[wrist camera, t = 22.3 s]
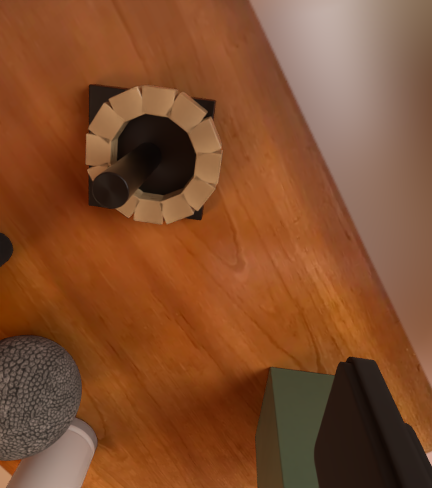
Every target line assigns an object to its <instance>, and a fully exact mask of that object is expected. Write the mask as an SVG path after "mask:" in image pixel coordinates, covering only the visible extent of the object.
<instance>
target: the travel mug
mask: <svg viewBox="0 0 432 488" xmlns="http://www.w3.org/2000/svg"><path fill="white" fill-rule="evenodd" d="M96 447H97V437H96V434H95V432H94V431H93V429H92V428H91V427H90V426H89V425H88V424H87V423H85V422H84V421H82V420H80V419H78V418H74V420H73V422H72V423H71V425H70V426H69V428H68V429H67V431H66V432H65V433H64V434H63V435H62V436H61V437H60V438H59V439H58V440H57V441H56V442H55V443H54V444H53V445H51V446H50V447H48V448H47V449H45V450H43V451H42V452H40V453H38V454H35V455H33V456H30V457H27V458H24V459H22V460H21V462H20V464H19V465H18V467H17V469H16V471H15V473H14V474H13V476H12V478H11V480H10V481H9V483H8V485H7V487H6V488H81V487H82V484H83V481H84V479H85V476H86V474H87V471H88V468H89V466H90V463H91V460H92V458H93V455H94V453H95V450H96Z"/></svg>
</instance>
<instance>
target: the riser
mask: <svg viewBox="0 0 432 488" xmlns="http://www.w3.org/2000/svg"><path fill="white" fill-rule="evenodd" d="M334 377H335V376H334V375H327V374H319V373H312V372H304V371H297V370H289V369H282V368H274V367H270V370H269V375H268V380H267V384H266V389H265V394H264V398H263V403H262V408H261V412H260V417H259V422H258V426H257V431H256V436H255V443H256V464H257V486H258V488H319V484H318V479H317V473H316V468H315V462H314V447H315V442H316V439H317V435H318V432H319V429H320V425H321V422H322V418H323V415H324V411H325V408H326V404H327V401H328V398H329V394H330V391H331V387H332V384H333V380H334Z"/></svg>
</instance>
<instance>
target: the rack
mask: <svg viewBox="0 0 432 488" xmlns="http://www.w3.org/2000/svg"><path fill="white" fill-rule="evenodd" d="M127 90H129V89H127V88H120V87H112V86H105V85H97V84H90V85H89V126H90V124H91V122H92V121H93V119H94V118H95V116H96V114H97V113H98V111H99V110H100V108H101V107H102V105H103V103H106V102H109V98H111V97H114V96H116V95H118V94H120V93H122V92H125V91H127ZM191 98H192V99H193V100H194V101H196V102H197V103H198V104H199V105H200V106H202V107H203V108H204V109H205V110H207V111H208V113H207V114H206V115H205V117H204V118H203V119H205V118H207V117H210V116H211V117H212V119H213V121H214V113H215V104H216V100H210V99H202V98H195V97H191ZM203 119H202V120H203ZM90 132H91V131H90V130H89V133H90ZM195 161H196V152H195V150H194V148H193V145H192V143H191V140H190V138H189V136H188V133H187V132H186V131H185V130H183V129H182V128H181V127H180V126H178V125H177V124H176V123H175V122H173V121H172V120H171V119H170V118H168V117H162V116H156V115H149V114H144V115H141V116H139V117H137V118H134V119H132V120H130V121H129V122H128V124H127V125H126V127H125V128H124V130H123V131H122V133H121V134H120V136H119V137H118V146H117V162H116V163H114V164H113V165H112V166H110V167H109V168H107V169H106V170H105V171H103V172H102V173H100V174H99V175H98V176H97V177H96V178H95V179H94V181H92V179H91V177H90V175H89V205H90V206H98V207H105V208H109V209H116V208H119V207H121V206H123V205H124V204H125V203H126V202H127V201H128V200H129V198H130V197H131V196H132V195H133V194H134V193H135V192H136V190H137V189H140V190H141V191H142V192H145V193H151V194H158V195H166V194H169V193H171V192H174V191H177V190H179V189H182V188H184V186H185V185H186V184H187V182H188V181H189V180H190V179H191V177H192V176H193V175H194V169H195ZM90 167H92V166H91V165H89V168H90ZM203 207H204V204H203V205H202V207H201V208H200V209H199V210H198V211H196V210H195V211H194V214H193V215H191V216H188V217H185V218H188V219H195V220H201V219H202V215H203Z"/></svg>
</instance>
